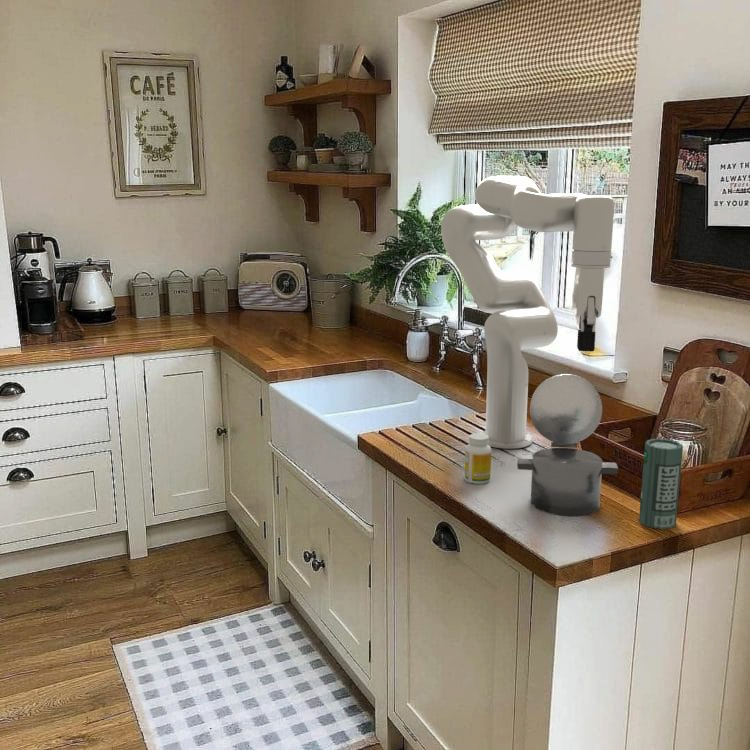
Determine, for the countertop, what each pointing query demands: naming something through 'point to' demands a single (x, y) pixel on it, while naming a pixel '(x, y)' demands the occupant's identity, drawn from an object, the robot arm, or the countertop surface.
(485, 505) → the countertop surface
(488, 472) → the supplement bottle
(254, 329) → the countertop surface
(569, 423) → the lid
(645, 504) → the can
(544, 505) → the pot
